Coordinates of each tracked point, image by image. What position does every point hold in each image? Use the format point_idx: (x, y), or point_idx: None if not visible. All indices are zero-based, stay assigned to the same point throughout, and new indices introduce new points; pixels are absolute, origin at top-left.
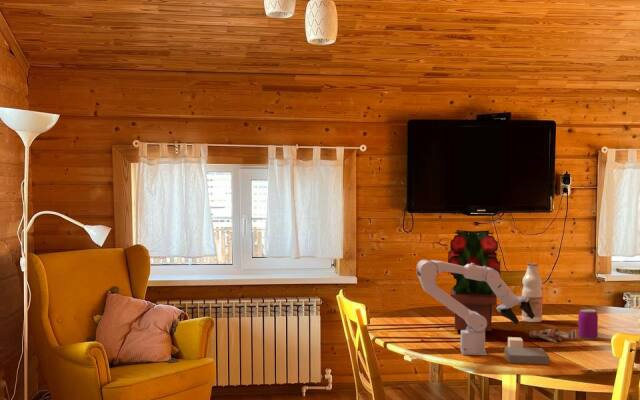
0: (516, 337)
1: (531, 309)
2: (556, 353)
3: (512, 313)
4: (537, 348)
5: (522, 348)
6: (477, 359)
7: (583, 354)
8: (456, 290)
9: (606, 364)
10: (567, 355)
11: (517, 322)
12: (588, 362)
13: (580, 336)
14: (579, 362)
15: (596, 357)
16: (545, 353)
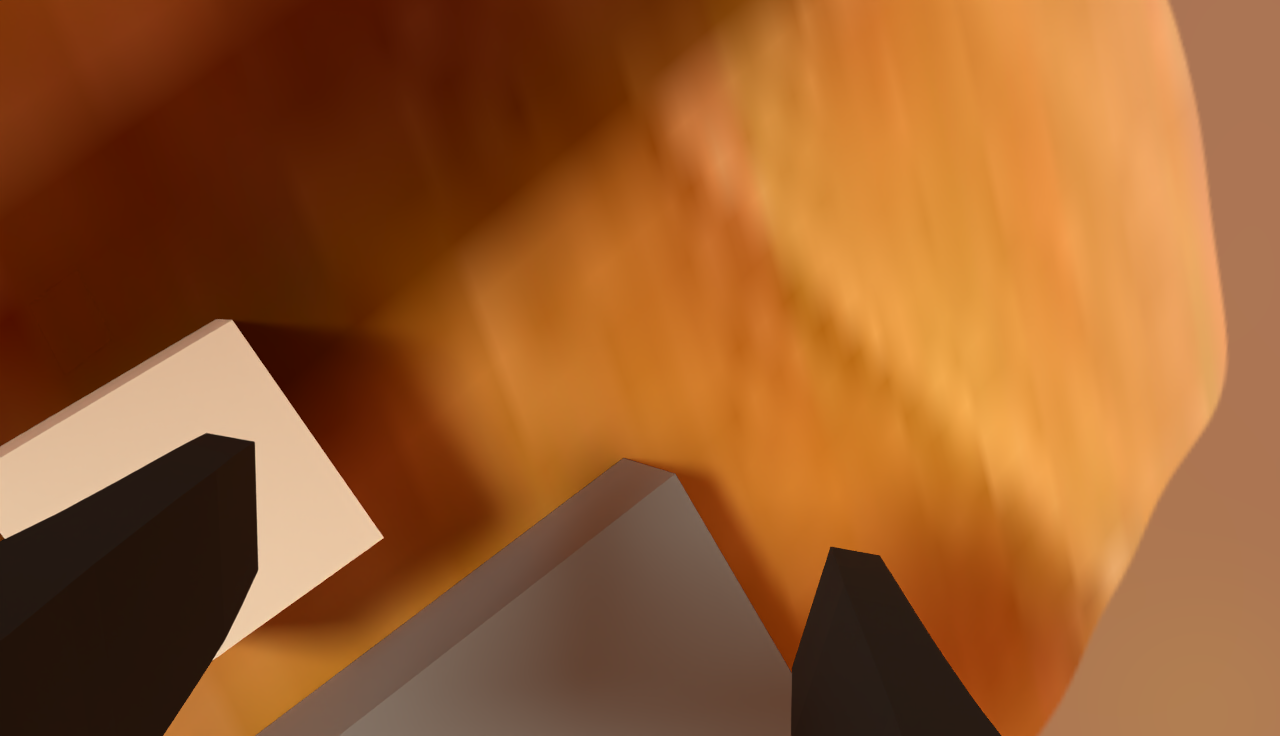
0: (150, 377)
1: (973, 715)
2: (720, 188)
3: (42, 687)
4: (630, 545)
5: (449, 733)
6: None
7: (960, 31)
8: None
9: (1187, 316)
10: (846, 203)
11: (250, 545)
12: (1068, 362)
13: None
14: (1010, 429)
15: (1079, 88)
16: None
